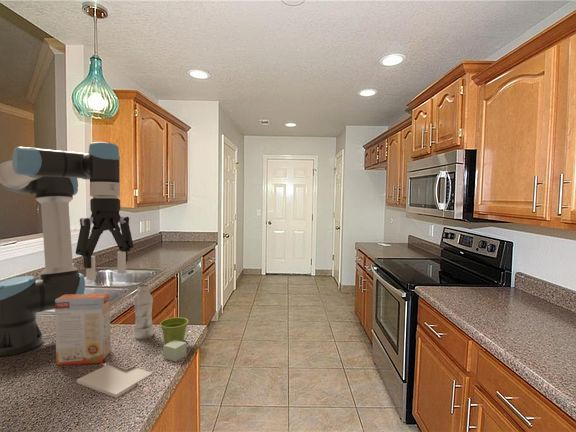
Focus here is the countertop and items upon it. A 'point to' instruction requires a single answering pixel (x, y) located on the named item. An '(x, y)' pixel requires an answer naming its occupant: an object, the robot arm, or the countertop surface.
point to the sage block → (174, 350)
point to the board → (113, 379)
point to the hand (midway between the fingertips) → (107, 276)
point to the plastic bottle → (143, 313)
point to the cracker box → (82, 328)
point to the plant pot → (174, 329)
